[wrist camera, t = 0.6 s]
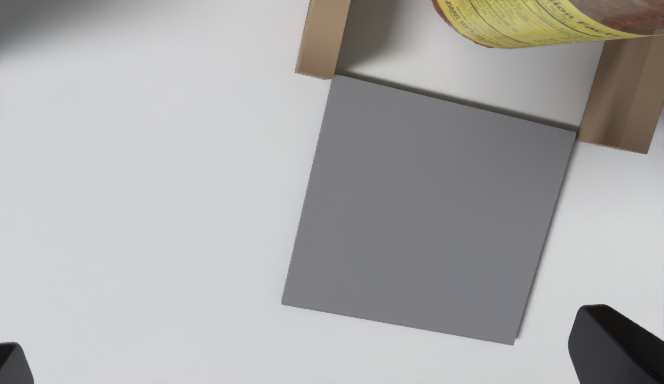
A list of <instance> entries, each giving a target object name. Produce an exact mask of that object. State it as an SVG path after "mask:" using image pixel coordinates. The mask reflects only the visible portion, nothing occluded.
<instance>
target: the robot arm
mask: <svg viewBox="0 0 664 384" xmlns="http://www.w3.org/2000/svg"><path fill="white" fill-rule="evenodd" d="M568 349H569V354H570V357H571V360H572V363H573V365H574V368H575V371H576V374H577V376H578V379H579V382H580V384H664V341H663V340H661V339H660V338H658V337H657V336H655V335H654V334H652V333H650V332H649V331H647V330H646V329H644V328H643V327H641V326H639V325H638V324H636V323H635V322H633V321H632V320H630V319H629V318H627V317H625V316H624V315H622V314H621V313H619V312H618V311H616V310H615V309H613V308H611V307H610V306H608V305H604V304H596V305H584V306H582V307H581V308H580V309H579V310H578V312H577V315H576V318H575V321H574V324H573V327H572V330H571V333H570V336H569V340H568ZM0 384H34V379H33V375H32V373H31V370H30V367H29V365H28V362H27V360H26V357H25V354H24V352H23V349H22V347H21V346H20V345H19V344H18V343H16V342H5V343H0Z"/></svg>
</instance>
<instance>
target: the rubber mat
mask: <svg viewBox="0 0 664 384" xmlns="http://www.w3.org/2000/svg"><path fill="white" fill-rule="evenodd" d="M576 133H577V132H573V131H569V130H565V129H560V128H556V127H552V126H548V125H544V124H540V123H536V122H532V121H527V120H523V119H519V118H515V117H511V116H507V115H503V114H499V113H494V112H490V111H486V110H482V109H478V108H474V107H470V106H466V105H461V104H457V103H453V102H449V101H445V100H441V99H437V98H433V97H428V96H424V95H420V94H416V93H412V92H408V91H404V90H400V89H395V88H391V87H387V86H383V85H379V84H375V83H371V82H367V81H362V80H358V79H354V78H350V77H346V76H342V75H338V74H334V77H333V79H332V82H331V86H330V90H329V95H328V99H327V104H326V108H325V112H324V117H323V121H322V126H321V130H320V134H319V139H318V143H317V147H316V152H315V156H314V161H313V165H312V169H311V174H310V178H309V183H308V187H307V191H306V196H305V200H304V205H303V209H302V213H301V218H300V222H299V227H298V231H297V235H296V240H295V244H294V248H293V253H292V257H291V262H290V266H289V270H288V275H287V279H286V284H285V288H284V292H283V297H282V305H288V306H293V307H299V308H304V309H310V310H316V311H321V312H327V313H333V314H338V315H344V316H350V317H355V318H361V319H366V320H372V321H378V322H383V323H389V324H395V325H400V326H406V327H412V328H417V329H423V330H428V331H434V332H440V333H445V334H451V335H457V336H462V337H468V338H474V339H479V340H485V341H490V342H496V343H502V344H507V345H514V342H515V338H516V335H517V332H518V328H519V325H520V321H521V318H522V315H523V311H524V308H525V305H526V301H527V298H528V295H529V291H530V288H531V284H532V281H533V278H534V274H535V271H536V268H537V264H538V261H539V258H540V254H541V251H542V247H543V244H544V241H545V237H546V234H547V231H548V227H549V224H550V220H551V217H552V214H553V210H554V207H555V204H556V200H557V197H558V194H559V190H560V187H561V183H562V180H563V177H564V173H565V170H566V167H567V163H568V160H569V157H570V153H571V150H572V146H573V143H574V140H575V136H576Z"/></svg>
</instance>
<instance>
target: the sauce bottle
mask: <svg viewBox="0 0 664 384" xmlns="http://www.w3.org/2000/svg"><path fill="white" fill-rule="evenodd" d="M432 2H433V5H434V7H435V10H436V11H437V13H438V14H439V15H440V16H441V17H442V18H443V19H444V21H445V22H447V24H448V25H449V26H450V27H452V28H453V29H454V30H455V31H456V32H458V33H459V34H461V35H462V36H464V37H466V38H468V39H470V40H472V41H474V42H475V43H476V44H479V45H482V46H485V47H488V48H495V47H496V48H503V49H512V48H524V47H535V46H546V45H557V44H568V43H579V42H591V41H602V40H613V39H625V38H636V37H646V36H656V35H664V0H432Z"/></svg>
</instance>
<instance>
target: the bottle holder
mask: <svg viewBox="0 0 664 384" xmlns="http://www.w3.org/2000/svg"><path fill="white" fill-rule="evenodd" d="M350 2H351V0H310V3H309V8H308V13H307V17H306V22H305V26H304V31H303V36H302V40H301V45H300V49H299V54H298V59H297V63H296V68H295V73H299V74H303V75H307V76H311V77H316V78H320V79H324V80H325V79H333V77H334V72H335V68H336V63H337V59H338V55H339V50H340V46H341V41H342V37H343V33H344V28H345V24H346V20H347V15H348V11H349V6H350ZM663 103H664V35H656V36H646V37H636V38H625V39H613V40H606V41H605V44H604V48H603V51H602V54H601V58H600V61H599V65H598V68H597V71H596V75H595V78H594V81H593V85H592V88H591V91H590V95H589V98H588V102H587V105H586V108H585V112H584V115H583V118H582V122H581V125H580V128H579V132H578V135H577V138H576V140H578V141H582V142H586V143H590V144H595V145H599V146H603V147H609V148H614V149H620V150H625V151H631V152H637V153H642V154H647V153H648V150H649V147H650V144H651V140H652V137H653V134H654V131H655V128H656V125H657V122H658V118H659V115H660V112H661V109H662V106H663Z"/></svg>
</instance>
